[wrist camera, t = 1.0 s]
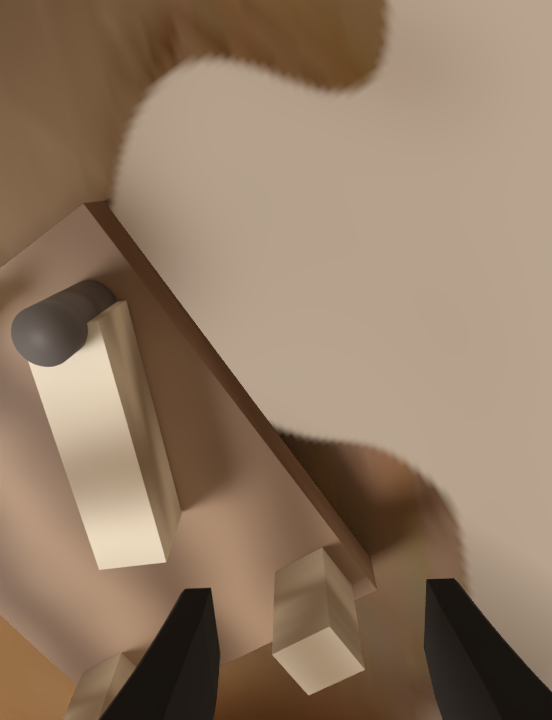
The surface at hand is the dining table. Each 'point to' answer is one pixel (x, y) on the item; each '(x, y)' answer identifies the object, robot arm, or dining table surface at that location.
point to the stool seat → (194, 491)
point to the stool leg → (102, 421)
